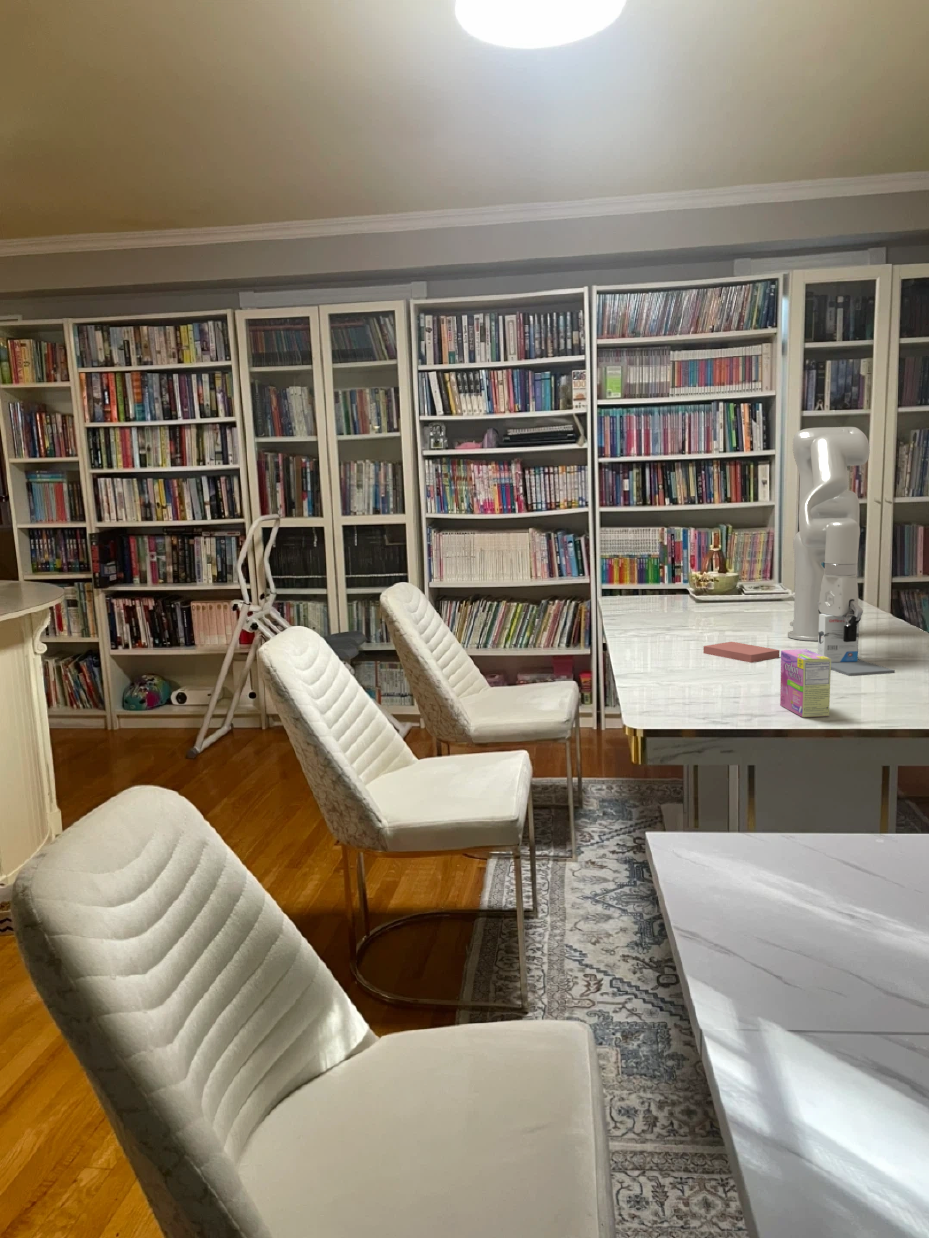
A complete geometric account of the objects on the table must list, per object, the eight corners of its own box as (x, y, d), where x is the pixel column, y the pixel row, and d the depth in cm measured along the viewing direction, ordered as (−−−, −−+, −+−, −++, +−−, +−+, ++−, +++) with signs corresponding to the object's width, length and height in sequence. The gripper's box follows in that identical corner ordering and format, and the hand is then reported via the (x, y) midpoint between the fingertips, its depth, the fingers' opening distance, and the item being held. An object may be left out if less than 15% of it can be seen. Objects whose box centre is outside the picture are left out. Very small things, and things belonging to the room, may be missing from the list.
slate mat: (806, 661, 230) (806, 658, 230) (848, 658, 232) (848, 656, 232) (849, 675, 213) (849, 673, 213) (894, 672, 215) (894, 670, 215)
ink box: (850, 658, 230) (852, 612, 228) (858, 662, 225) (860, 615, 223) (816, 658, 230) (818, 613, 228) (823, 662, 225) (825, 616, 223)
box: (778, 705, 187) (780, 649, 185) (805, 704, 187) (807, 648, 186) (801, 718, 177) (803, 659, 175) (829, 717, 177) (832, 658, 175)
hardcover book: (703, 655, 244) (703, 646, 243) (731, 650, 249) (731, 641, 249) (750, 664, 230) (751, 655, 230) (779, 659, 236) (779, 650, 236)
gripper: (807, 567, 232) (804, 633, 234) (848, 574, 215) (845, 645, 217) (833, 566, 233) (830, 632, 236) (876, 573, 216) (873, 643, 219)
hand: (837, 638), depth 226 cm, fingers open, 9 cm apart
